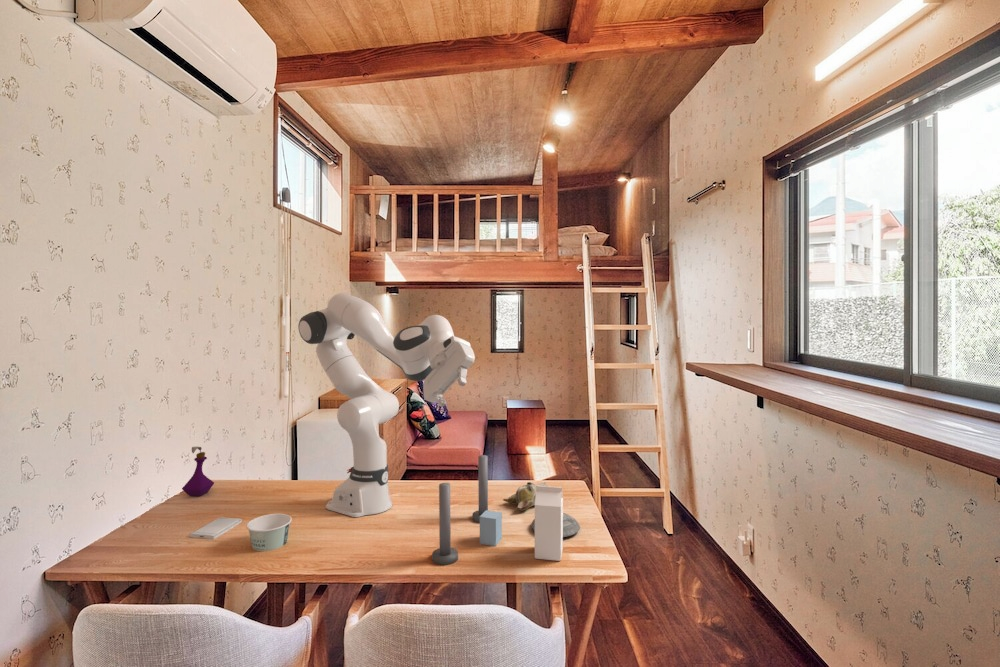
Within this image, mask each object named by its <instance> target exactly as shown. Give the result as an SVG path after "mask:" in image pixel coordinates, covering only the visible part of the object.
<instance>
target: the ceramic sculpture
mask: <svg viewBox="0 0 1000 667" xmlns="http://www.w3.org/2000/svg"><path fill="white" fill-rule="evenodd" d="M536 486H547V482H546V481H545V482H543V483H539V484H537V485H536V484H535V483H533V482H531V481H530V482H529V481H528V482H527V483H526V485H522V486H521V485H520V487H518V489H517V490H516V492H515V493H514V494H512V495H511V496H510V497H508V498H503V499H502V501H504V502H506V503H508V504H517V507H516V508H515V510H517V511H526V510H528V509H529V508H531V507H533V506H535V497H536Z"/></svg>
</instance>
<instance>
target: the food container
mask: <svg viewBox="0 0 1000 667" xmlns="http://www.w3.org/2000/svg"><path fill="white" fill-rule="evenodd" d="M292 520H293V518H292V516H290V515H288V514H286V513H270V514H264V515H261V516H258V517H255V518H252V519H251V520H249V521H248V522H247V523H246V526H245V527H246V529H247V530H248V533H249V537H250V538H249V539H250V543H251V547H252V549H253V550H254V551H257V552H267V551H273V550H276V549H280V548H282V547H283V546H285V545H286V544H287V542H288V537H289V530H290V524H291V522H292Z"/></svg>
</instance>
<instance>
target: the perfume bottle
mask: <svg viewBox="0 0 1000 667" xmlns="http://www.w3.org/2000/svg"><path fill="white" fill-rule="evenodd" d="M196 450H199V452H198V453H197V454H195V455H196V457H195V458H193V460H194V461H195V463H196V466H195V469H194V472H193V474H192V476H191V477H190V479H189V480H188V481H187V482H186V483H185V484H184V486H182V487H181V490H182V491H183V492H185V493H186V494H187V496H189V497H202V496H204V495H205V494H208V493H209V492H210V490H211V489H212V488H213V486H214V484H215V482H214V481H213V480H211V479H210V478H209V477H208V476H206V475H205V474H204V473H203V464H204V462H205V461H206V460H207V459H208V457H207V456H206V452H205V451H202V446H192V447H191V453H192V454H194V453H195V452H196Z"/></svg>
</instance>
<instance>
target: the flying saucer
mask: <svg viewBox="0 0 1000 667" xmlns="http://www.w3.org/2000/svg"><path fill="white" fill-rule="evenodd" d="M530 527H531V528H532V530H533V531H534V532H535V518H533V520H532V521H531V524H530ZM580 530H581V526H580V524H579V522H578V520H576V518H574V517H573V516H572V515H569V514H567V513H564V512H563V538H565V537H566V538H567V537H571V536H573V535H576V534H577V533H578V532H579V531H580Z"/></svg>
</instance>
